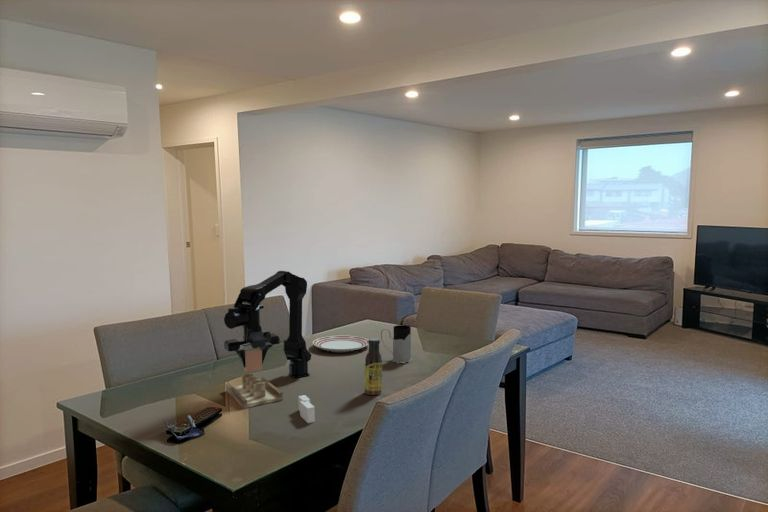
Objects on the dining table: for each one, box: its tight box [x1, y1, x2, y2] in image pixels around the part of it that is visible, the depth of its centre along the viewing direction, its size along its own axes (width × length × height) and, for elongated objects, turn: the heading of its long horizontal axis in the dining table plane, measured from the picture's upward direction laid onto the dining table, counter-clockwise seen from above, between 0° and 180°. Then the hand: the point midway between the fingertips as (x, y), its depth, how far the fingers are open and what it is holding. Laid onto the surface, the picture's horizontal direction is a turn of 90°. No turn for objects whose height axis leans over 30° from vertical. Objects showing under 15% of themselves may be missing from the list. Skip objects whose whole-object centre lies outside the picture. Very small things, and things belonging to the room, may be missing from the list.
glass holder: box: [380, 324, 413, 362], centre depth 231 cm, size 9×14×15 cm, turn 71°
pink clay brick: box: [243, 348, 263, 373], centre depth 188 cm, size 6×2×7 cm, turn 123°
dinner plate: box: [312, 334, 369, 353], centre depth 253 cm, size 27×27×3 cm
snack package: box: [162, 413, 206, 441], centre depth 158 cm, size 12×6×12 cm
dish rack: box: [225, 372, 284, 409], centre depth 189 cm, size 14×20×6 cm
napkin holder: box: [297, 394, 316, 424], centre depth 171 cm, size 15×11×6 cm
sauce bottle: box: [363, 337, 383, 396], centre depth 191 cm, size 7×6×20 cm
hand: (253, 365), depth 189 cm, fingers closed on pink clay brick, 6 cm apart
